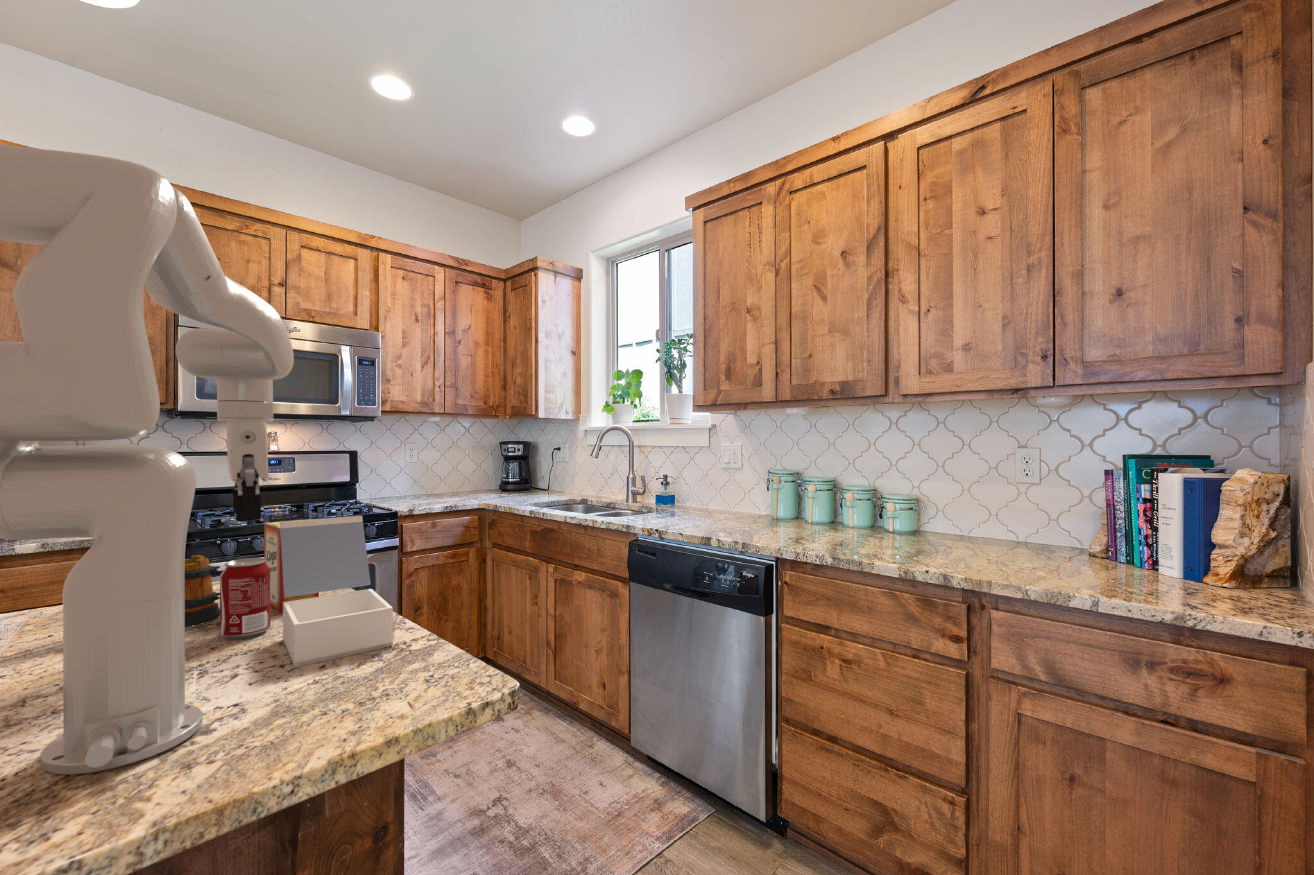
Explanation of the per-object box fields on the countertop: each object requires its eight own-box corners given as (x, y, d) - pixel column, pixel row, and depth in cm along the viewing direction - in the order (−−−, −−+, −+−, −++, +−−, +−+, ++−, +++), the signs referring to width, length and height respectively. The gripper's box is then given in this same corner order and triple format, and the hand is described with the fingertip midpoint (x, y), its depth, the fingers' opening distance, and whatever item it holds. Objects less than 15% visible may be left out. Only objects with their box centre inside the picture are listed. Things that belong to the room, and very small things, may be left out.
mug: (214, 607, 109) (214, 547, 109) (230, 618, 102) (230, 554, 102) (121, 625, 99) (121, 558, 99) (133, 638, 92) (133, 567, 92)
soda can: (275, 633, 94) (275, 561, 94) (224, 644, 90) (224, 568, 90) (264, 624, 99) (264, 555, 99) (216, 634, 94) (215, 561, 94)
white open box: (392, 646, 89) (392, 607, 89) (294, 667, 81) (294, 624, 81) (371, 623, 100) (371, 588, 100) (283, 639, 92) (283, 602, 92)
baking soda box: (264, 603, 112) (264, 521, 112) (301, 596, 117) (301, 517, 117) (279, 613, 105) (279, 526, 105) (318, 605, 110) (318, 522, 110)
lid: (362, 515, 105) (361, 516, 105) (279, 521, 97) (279, 523, 97) (370, 583, 99) (370, 584, 100) (284, 596, 92) (284, 597, 92)
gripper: (278, 412, 90) (279, 521, 90) (268, 413, 103) (269, 508, 104) (218, 411, 85) (219, 526, 86) (215, 412, 99) (216, 511, 99)
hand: (246, 516), depth 95 cm, fingers open, 9 cm apart
